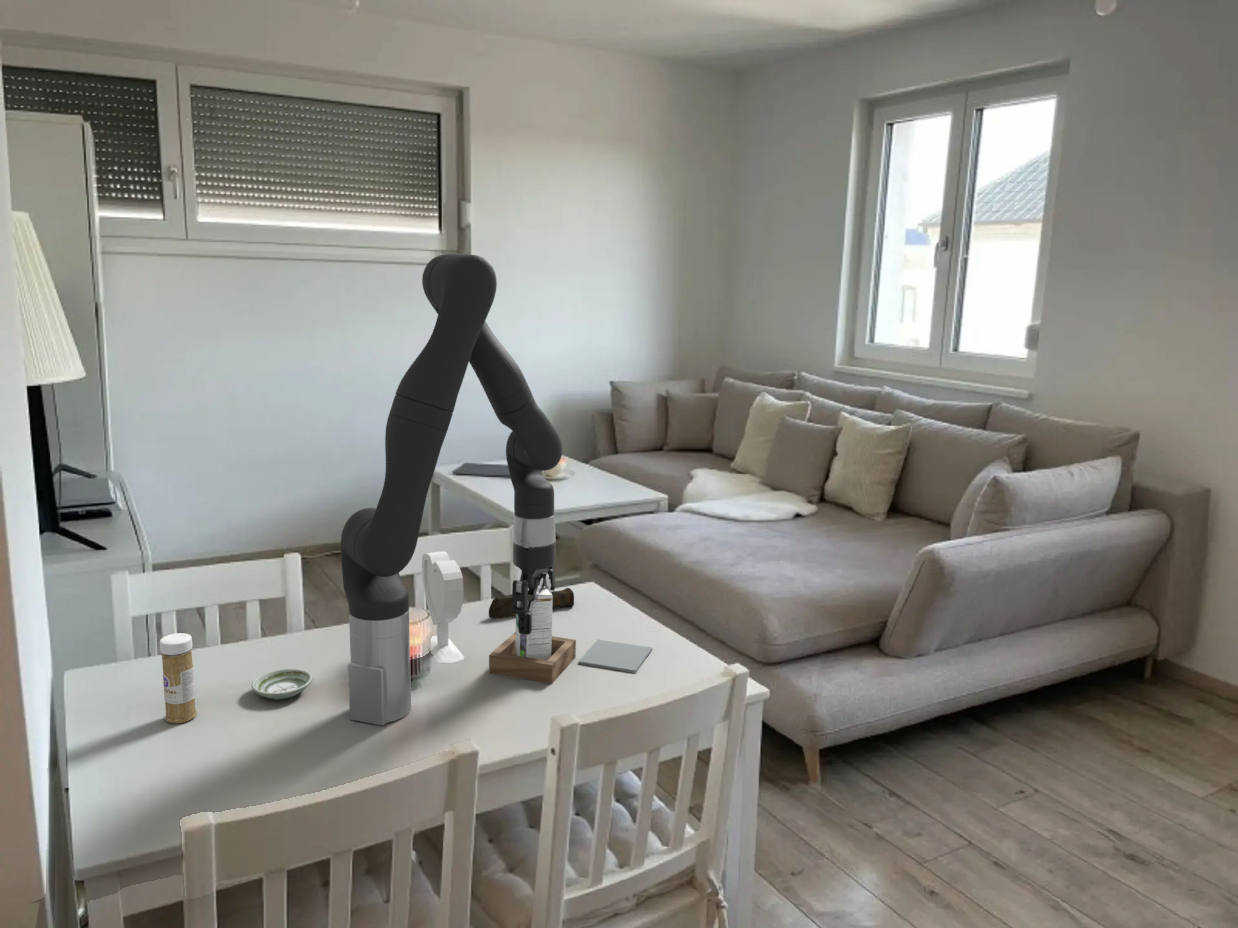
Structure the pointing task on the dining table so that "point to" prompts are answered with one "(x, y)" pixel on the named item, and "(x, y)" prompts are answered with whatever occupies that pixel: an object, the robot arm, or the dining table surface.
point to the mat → (616, 656)
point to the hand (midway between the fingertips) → (534, 624)
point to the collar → (532, 661)
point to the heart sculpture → (443, 601)
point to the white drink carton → (537, 629)
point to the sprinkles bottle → (178, 677)
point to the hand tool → (504, 603)
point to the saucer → (282, 683)
